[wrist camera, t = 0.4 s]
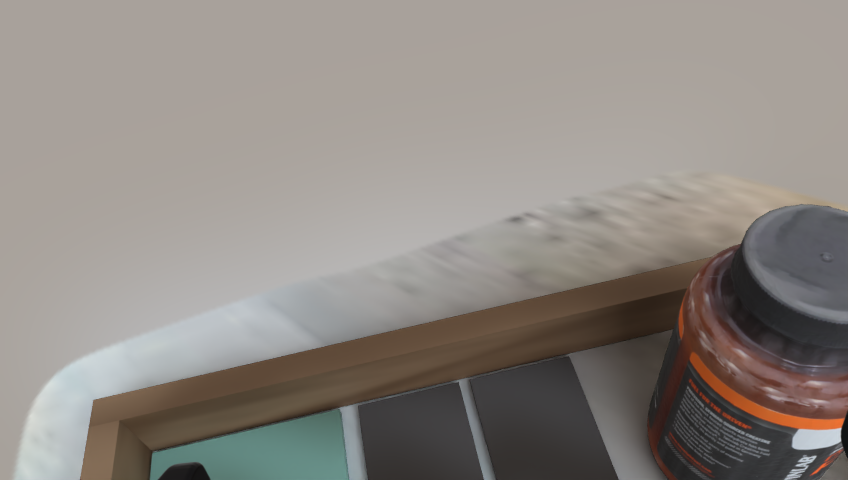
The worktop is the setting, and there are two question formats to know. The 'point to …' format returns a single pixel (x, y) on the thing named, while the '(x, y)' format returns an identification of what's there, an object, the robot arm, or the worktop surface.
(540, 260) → the worktop surface
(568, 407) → the wooden serving tray
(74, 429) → the worktop surface
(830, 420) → the supplement bottle
